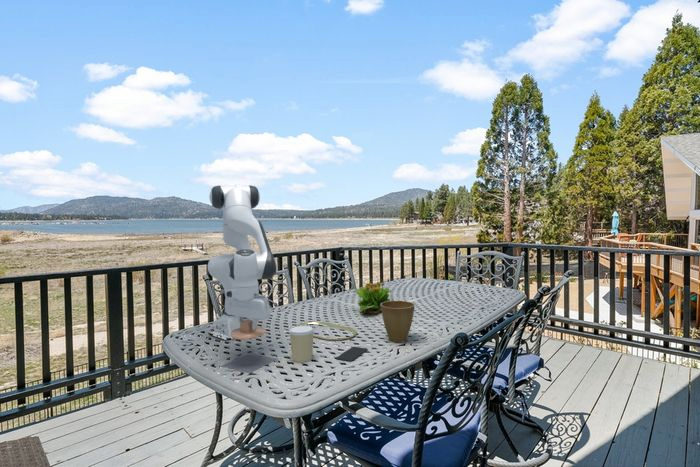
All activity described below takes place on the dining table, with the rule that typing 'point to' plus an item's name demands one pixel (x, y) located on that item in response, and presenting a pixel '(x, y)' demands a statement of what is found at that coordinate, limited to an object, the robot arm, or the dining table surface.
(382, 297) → the potted flower
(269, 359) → the mat
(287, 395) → the dining table surface
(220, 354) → the dining table surface
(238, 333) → the lid
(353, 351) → the phone
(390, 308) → the plant pot
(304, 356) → the coffee cup
